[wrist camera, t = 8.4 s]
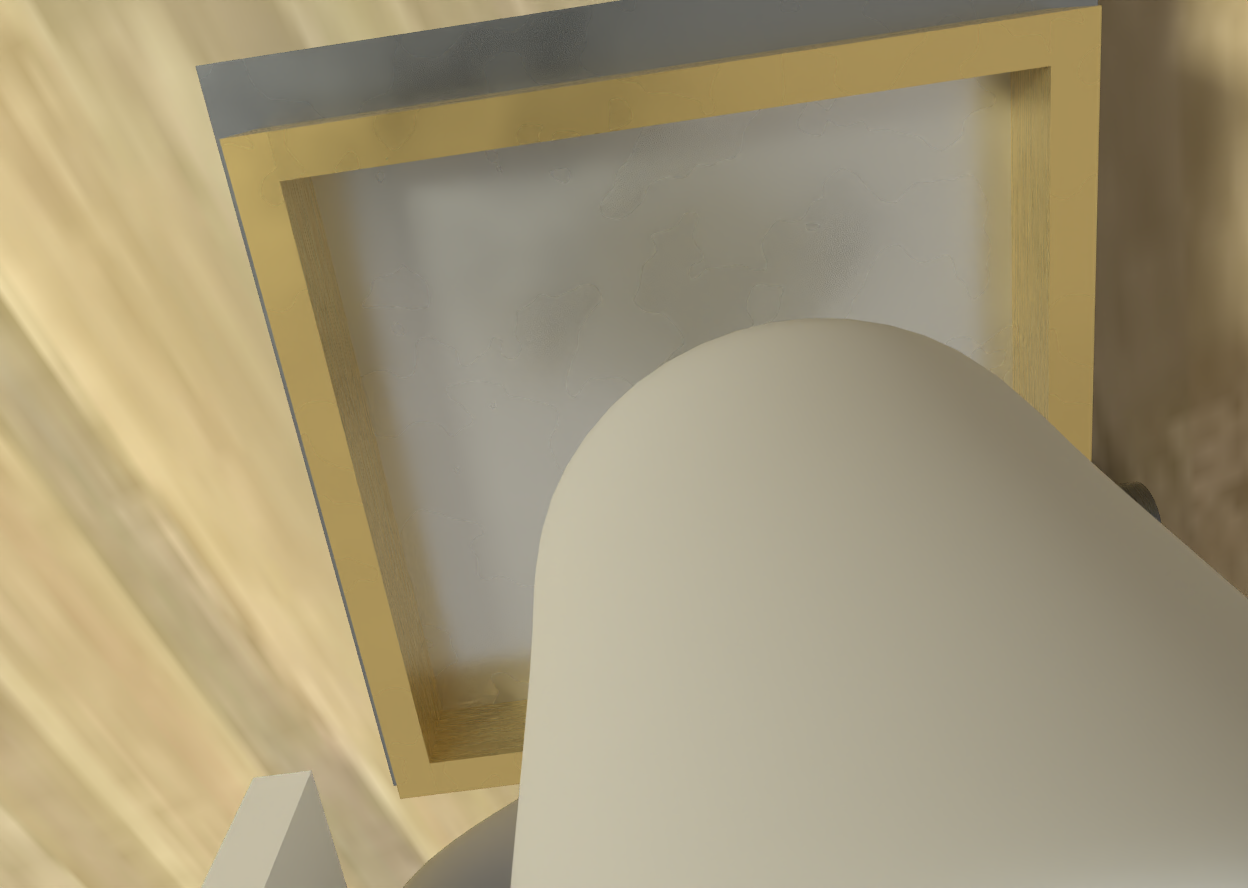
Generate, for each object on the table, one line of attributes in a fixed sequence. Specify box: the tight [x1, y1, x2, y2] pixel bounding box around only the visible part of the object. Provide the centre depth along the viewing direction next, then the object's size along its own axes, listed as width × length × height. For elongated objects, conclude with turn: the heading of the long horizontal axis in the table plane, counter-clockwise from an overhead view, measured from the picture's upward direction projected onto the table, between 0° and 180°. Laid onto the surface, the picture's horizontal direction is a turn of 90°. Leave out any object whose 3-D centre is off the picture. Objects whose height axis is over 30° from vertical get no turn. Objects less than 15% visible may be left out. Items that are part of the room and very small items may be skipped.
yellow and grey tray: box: [196, 0, 1161, 799], centre depth 27 cm, size 23×20×6 cm
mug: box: [403, 318, 1248, 888], centre depth 12 cm, size 12×8×11 cm
